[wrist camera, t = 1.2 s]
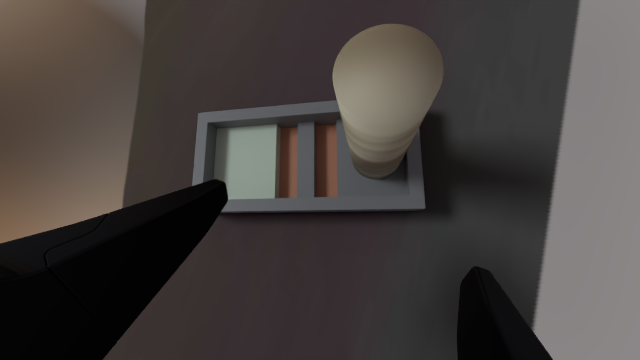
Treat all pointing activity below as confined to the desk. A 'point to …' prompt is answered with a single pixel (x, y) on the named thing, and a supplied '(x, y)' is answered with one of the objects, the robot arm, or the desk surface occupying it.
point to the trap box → (297, 163)
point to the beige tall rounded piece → (385, 93)
